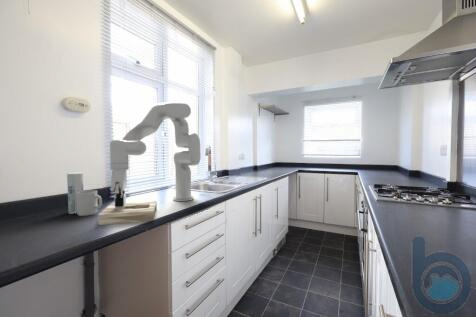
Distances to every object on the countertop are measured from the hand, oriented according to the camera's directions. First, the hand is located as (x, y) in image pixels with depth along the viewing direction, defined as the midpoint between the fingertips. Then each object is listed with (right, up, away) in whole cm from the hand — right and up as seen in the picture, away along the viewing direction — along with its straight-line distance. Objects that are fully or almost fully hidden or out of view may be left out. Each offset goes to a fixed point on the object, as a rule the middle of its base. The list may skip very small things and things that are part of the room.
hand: (120, 204), depth 102 cm
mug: (-18, -6, +6) cm, 20 cm away
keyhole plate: (+4, -6, +2) cm, 8 cm away
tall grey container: (-27, -6, +9) cm, 29 cm away
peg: (0, -6, 0) cm, 6 cm away
